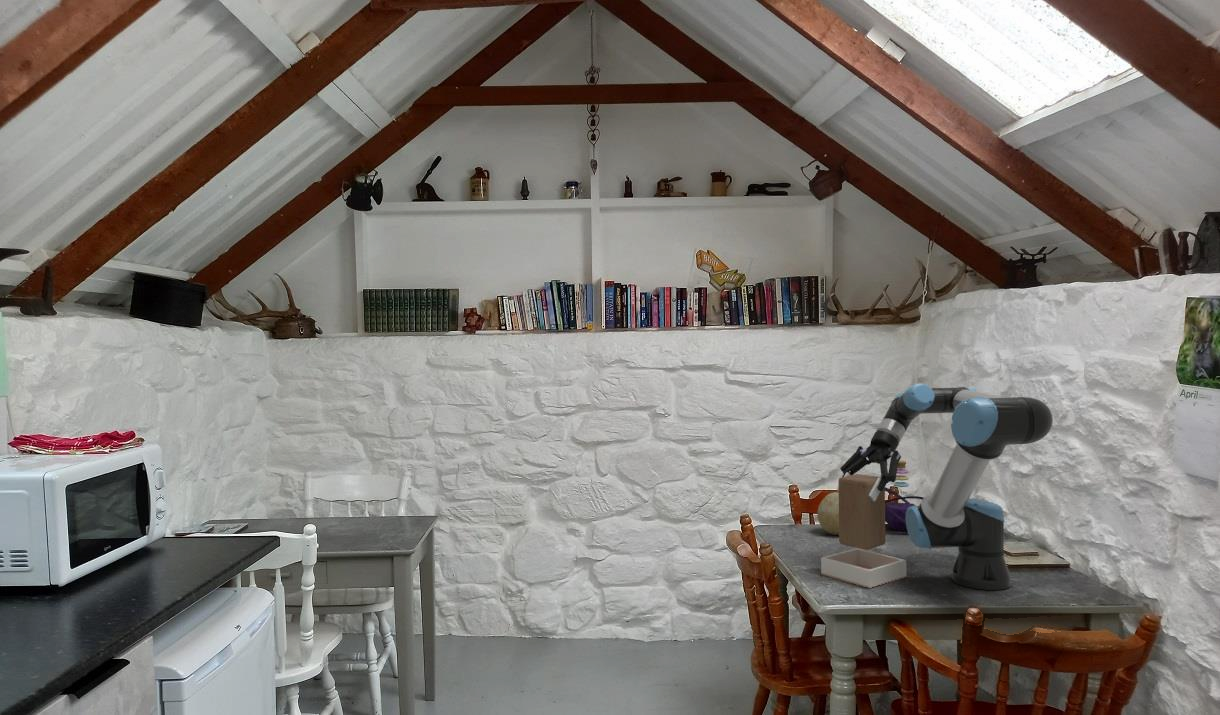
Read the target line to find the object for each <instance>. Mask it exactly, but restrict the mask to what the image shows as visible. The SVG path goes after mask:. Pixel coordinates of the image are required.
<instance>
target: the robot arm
mask: <svg viewBox="0 0 1220 715" xmlns="http://www.w3.org/2000/svg"><path fill="white" fill-rule="evenodd" d="M945 413H946V414H952V415H951V421H952V422H951V424H950V427H951V429H950V430H951V433H952V436H953V438H954V440H955V443H956V445H955V447H954V449H953V451H952V452H951V455H950V457H949V459H948V462H947V463H946V465H945V467H944V469H943V471H942V473H941V475H940V477H939V479H938V481H937V483H936V485H935V487H934V489H933V491H932V493H929V494H926V495H925V496H924V498H923V500H922V499H921V502H920V503H919V505H918V506H917V505H916V506H911V507H909V508H908V509H907V511H906V527H907V531H906V532H907V534H908V537H909V539H910V541H911V543H912V544H913V545H914V546H916V547H918V548H919V549H929V550H930V549H936V548H937V549H940V548H957V547H958V554H957V557H956V559H955V562H954V565H953V568H952V571H951V579H952V581H953V582H955V584H958V585H960V586H962V587H965V588H966V587H967V588H971V589H974V590H975V589H976V590H987V591H1001V590H1005V589H1009V588H1010V587H1012V576H1011V573H1010V571H1009V568H1008V565H1007V563H1006V558H1005V554H1004V553H1005V547H1004V546H1005V545H1004V544H1005V542H1004V541H1005V538H1004V537H1005V531H1004V530H1005V529H1004V528H1005V527H1004V526H1005V525H1004V524H1005V517H1004V516H1005V515H1004V509H1003V507H1002V506H1001V505H999V504H998V503H996V502H990V501H987V500H981V499H976V498H970V497H971V495H972V494H973V492H974V490H975V489H976V487H977V485H978V483H979V481H980V480H981V477H982V475H984V472H985V471H986V468H987V466H988V465H989V463H990V461H991V460H996V459H997V458H999V457H1000V456H1001V455H1002V453H1003V452H1004V450H1005V448H1006V447H1007V446H1009V445H1010V446H1012V445H1029V444H1033V443H1036V442H1038V441H1041V440H1043V439H1044V438H1045V437H1047V435H1048V434H1049V433H1050V431H1051V429H1052V427H1053V414H1052V412H1051V409H1050V408H1049V407H1048V405H1047V404H1046V403H1045V402H1043V401H1042V400H1040V399H1037V398H1033V397H1026V396H1019V397H1018V396H1017V397H1016V396H1015V397H1014V396H1013V397H1005V396H1000V395H994V394H990V393H985V392H981V391H976V389H975V388H973V387H966V386H959V387H931V386H929V385H927V384H924V383H922V382H921V383H915V384H912V385H911V387H908V388H907V389H906V390H905V391H904V392H902V393H901V392H900V393H898V394H896V395H895V397H894V398H893V400H891V404H890V406H889V407H888V409H887V411H886V413H885V414H884V417H883V418H882V420H881V422H880V423H879V425H878V426H877V428H876V431H875V432H874V434H873V436H872V437H871V439H870V444H869V446H868V447H866V448H865V447H862V446H861V445H859V446H858V447H857V449H856V451H855V452H854V453H853V454H852V455H851V456H850V457H849V458H848V459H847V461H845V463H843V465H842V466H841V467H839V468H840V470H841V472H842V474H843V475H841V477H846V476H850V475H855V474H857V472H859V471H861V469H863V468H864V467H865V466H867V465H868V466H870V464H878V465H879V468H880V476H877V477H878V479H877V481H876V483H875V484H874V486H873V488H872V490H871V492H870V494H869V496H870V498H871V499H872V501H876V499H877V497H878V495H879V493H880V491H883V490H884V488H885V487H886V486H887V484H889V483H890V482H891V483H895V482H897V480H896V475H897V474H898V473H897V469H899V468H898V462H899V461H901V458H902V456H901V454H900V453H899V451H898V450H897V448H898V446H899V444H900V443H901V441H902V439H903V437H904V435H905V434H906V431H907V429H909V426H910V424H911V423H912V421H913V420H914V419H915V418H917V417H918V416H919V415H921V414H945ZM889 459H890V463H889V468H888V460H889ZM879 477H882V479H881V478H879ZM836 490H837V491H836V492H838V493H839V487H837V488H836Z"/></svg>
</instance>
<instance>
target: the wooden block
mask: <svg viewBox="0 0 1220 715" xmlns="http://www.w3.org/2000/svg"><path fill="white" fill-rule="evenodd" d="M878 477H879V478H881V479H882V477H881V476H874V475H868V474H861V473H855V474H853V475H850V476H846V477H842V476H841V477H839V478H838V487H839V492H838V493H839V535H838V542H839V544H840V545H843V546H847V547H852V548H854V549H856V548H859V549H863V550H867V551H870V550H872V549H875V548H878V547H880V546H884V545H885V544H886V521H885V501H886V491H885V488H884V490H883V491H880V493H879V495H878V497H877V499H876V501H872V499H871V498H870V496H869V494H870V492H871V490H872V488H873V486H874V484H875V483H876V481H877V479H878ZM838 487H837V488H838Z"/></svg>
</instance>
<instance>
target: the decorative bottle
mask: <svg viewBox="0 0 1220 715" xmlns="http://www.w3.org/2000/svg"><path fill="white" fill-rule="evenodd" d="M906 464H907V462H906V460H899V462H898V468H897V474H899V475H897V474H896V481H895V482H893V486H894V487H897V488H906V487H907V488H908V487H909V486H910V485H909V484H908V482H905V481H908V480H909V479H910V478H909V477H908V476H907V475H906V474H909V473H910V471H909V470H908V469H906ZM904 474H905V475H904ZM886 492H887V493H890V495H891V494H892V495H894V496H895V498H891V499H887V500H885V524H887V525H888V526H889V527H890V528H891V529H893V530H894V531H896V532H902V531H901V530H904V531H903V532H908V531H907V527H906V511H907V509H908V508H909V507H911V506H917V505H916V504H915V503H911V502H909V501H908V499H917V500H921V501H922V500H923V498H924V497H925V496H924V497H923V496H917V495H916V496H915V495H914V496H913V495H912V496H911V495H907V496H901V495H900V494H898V493H897V492H895V491H894V490H892V489H890V488H888V487H886V486H885V493H886ZM898 500H901V501H902V502H894V501H898Z"/></svg>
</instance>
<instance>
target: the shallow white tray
mask: <svg viewBox="0 0 1220 715" xmlns="http://www.w3.org/2000/svg"><path fill="white" fill-rule="evenodd" d="M820 561H821V562H820V564H821V566H820V567H821V569H820V572H821V575H822V576H825V577H829V578H833V579H836V580H838V579H839V581H842V582H846V583H850V584H852V583H854V584H853V585H855V584H856V585H855V586H859V585H860V586H859V587H862V586H863V587H862V588H865V587H868V588H867V589H869V588H872V587H875V586H878V585H881V586H883V585H882V584H884V585H886V584H885V583H887V584H889V583H888V582H890V583H892V582H891V581H893V582H896V581H895V580H897V579H900V580H902V579H901V578H903V579H905V578H904V577H906V578H907V560H906V559H903V558H900V557H899V558H898V557H895V556H892V555H887V554H883V553H880V552H879V553H878V552H875V551H871V550H864V549H860V548H853V549H848V550H844V551H842V552H838V553H834V554H830V555H826V556H823V557H821V558H820ZM897 581H898V580H897ZM878 587H879V586H878ZM875 588H876V587H875ZM872 589H873V588H872Z"/></svg>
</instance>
